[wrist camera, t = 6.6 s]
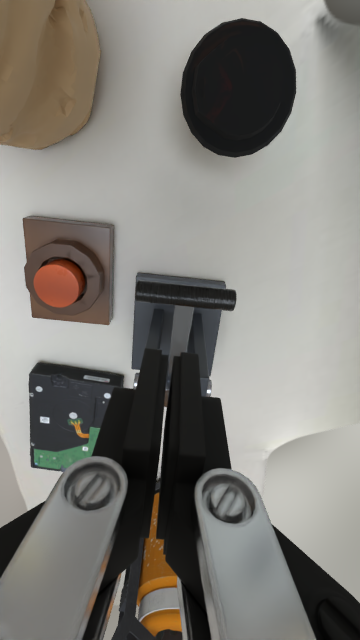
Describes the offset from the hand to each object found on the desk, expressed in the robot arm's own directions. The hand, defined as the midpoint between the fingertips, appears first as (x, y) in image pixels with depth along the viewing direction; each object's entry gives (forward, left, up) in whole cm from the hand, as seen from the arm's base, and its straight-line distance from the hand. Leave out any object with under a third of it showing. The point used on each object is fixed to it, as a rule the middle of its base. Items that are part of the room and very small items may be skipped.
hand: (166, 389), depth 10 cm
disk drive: (+23, -10, -24) cm, 35 cm away
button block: (+4, -10, -24) cm, 26 cm away
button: (+4, -10, -21) cm, 23 cm away
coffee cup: (-11, +3, -24) cm, 26 cm away
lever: (+4, +1, -12) cm, 13 cm away
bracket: (+9, +1, -24) cm, 25 cm away
